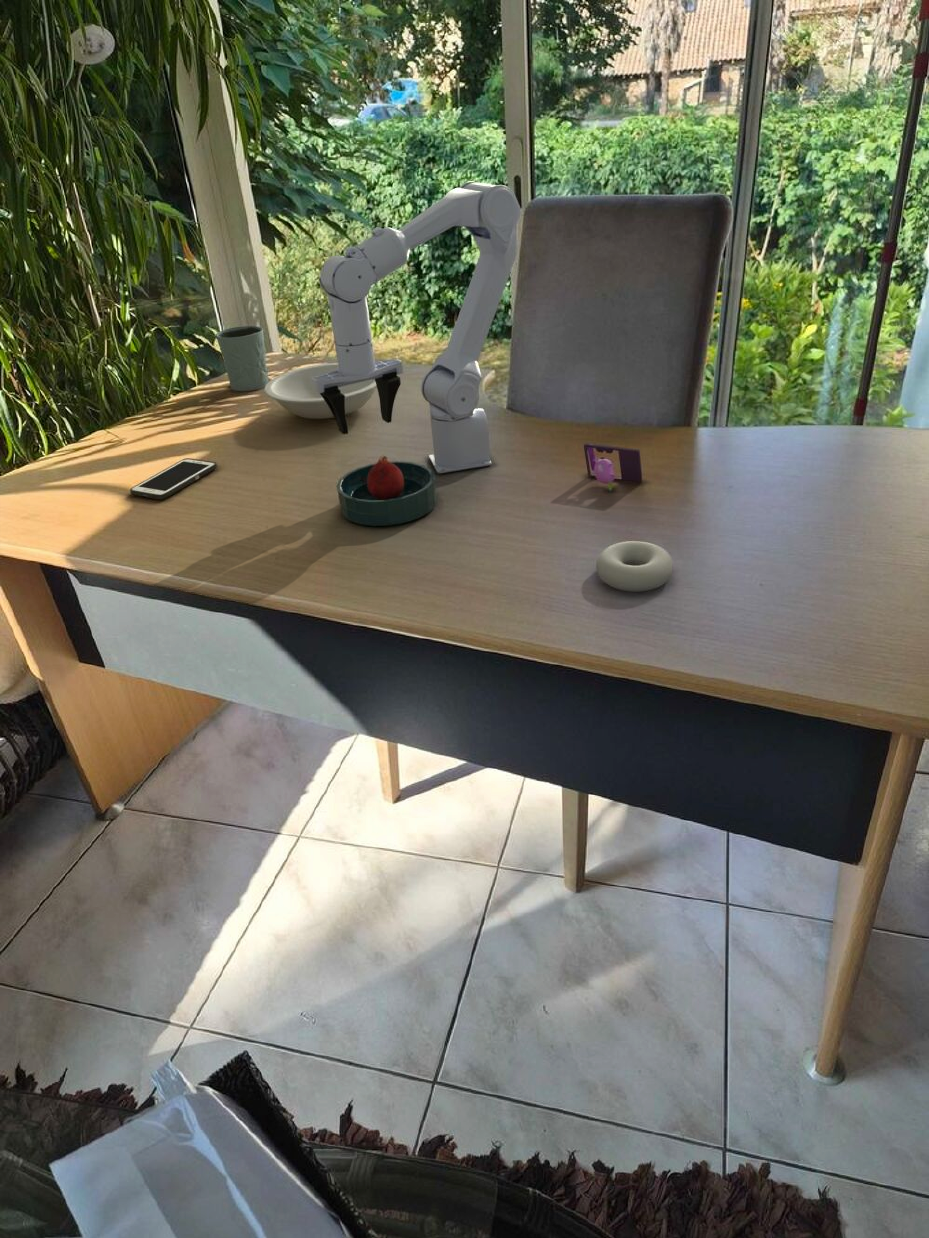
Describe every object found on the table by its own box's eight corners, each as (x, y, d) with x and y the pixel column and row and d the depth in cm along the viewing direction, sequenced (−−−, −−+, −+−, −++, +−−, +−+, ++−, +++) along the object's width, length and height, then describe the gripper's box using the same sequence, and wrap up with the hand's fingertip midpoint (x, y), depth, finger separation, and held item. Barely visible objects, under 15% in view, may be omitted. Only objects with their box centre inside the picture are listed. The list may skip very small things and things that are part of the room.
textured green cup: (221, 392, 194) (208, 338, 188) (238, 378, 203) (226, 325, 196) (263, 391, 193) (252, 337, 186) (279, 377, 201) (269, 324, 194)
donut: (660, 555, 119) (588, 562, 119) (662, 533, 117) (588, 539, 117) (682, 593, 111) (604, 600, 110) (684, 569, 109) (605, 576, 108)
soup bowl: (382, 429, 167) (378, 396, 164) (259, 438, 168) (252, 405, 165) (392, 389, 187) (388, 359, 184) (282, 397, 189) (276, 366, 185)
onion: (401, 512, 135) (395, 464, 131) (365, 511, 136) (358, 464, 132) (410, 496, 140) (404, 449, 135) (376, 495, 141) (369, 449, 136)
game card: (641, 446, 134) (585, 440, 138) (630, 469, 131) (574, 462, 135) (643, 478, 139) (590, 471, 143) (634, 501, 136) (579, 493, 140)
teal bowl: (426, 480, 146) (423, 455, 143) (446, 518, 133) (443, 491, 131) (336, 495, 143) (331, 470, 141) (348, 535, 131) (343, 508, 128)
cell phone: (129, 495, 149) (127, 489, 149) (187, 462, 160) (185, 457, 160) (162, 501, 146) (161, 495, 146) (219, 467, 157) (218, 462, 156)
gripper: (385, 326, 138) (395, 409, 145) (299, 345, 133) (314, 430, 140) (404, 335, 133) (414, 420, 140) (316, 355, 127) (330, 443, 135)
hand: (365, 426), depth 140 cm, fingers open, 7 cm apart
